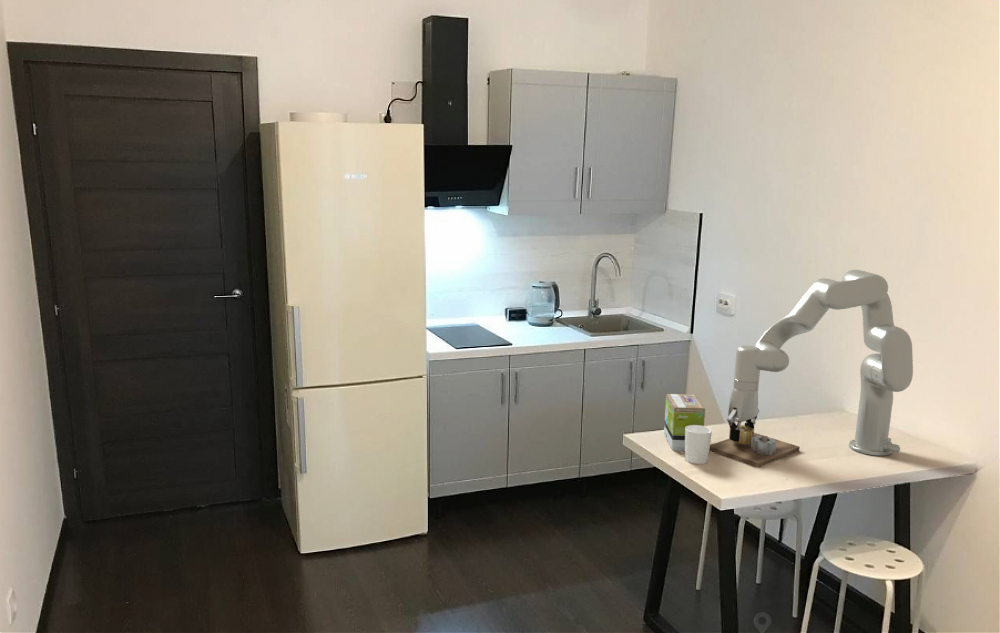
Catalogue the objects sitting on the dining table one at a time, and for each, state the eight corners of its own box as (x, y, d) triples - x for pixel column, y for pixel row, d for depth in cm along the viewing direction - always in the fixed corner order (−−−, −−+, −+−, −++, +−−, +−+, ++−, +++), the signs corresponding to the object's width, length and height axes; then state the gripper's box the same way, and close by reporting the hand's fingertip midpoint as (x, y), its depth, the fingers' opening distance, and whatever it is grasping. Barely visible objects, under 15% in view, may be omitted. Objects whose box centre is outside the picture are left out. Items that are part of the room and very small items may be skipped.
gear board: (799, 451, 242) (801, 431, 241) (757, 467, 227) (759, 447, 226) (749, 435, 255) (751, 417, 254) (707, 450, 240) (708, 430, 239)
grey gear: (777, 450, 238) (778, 438, 237) (773, 457, 231) (774, 445, 230) (752, 445, 241) (754, 433, 240) (748, 452, 235) (749, 440, 234)
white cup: (695, 466, 227) (697, 434, 225) (677, 457, 233) (679, 426, 232) (714, 462, 230) (717, 431, 228) (697, 454, 237) (699, 423, 235)
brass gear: (757, 441, 242) (758, 429, 241) (744, 445, 237) (745, 433, 236) (737, 434, 247) (738, 423, 246) (724, 439, 242) (725, 427, 242)
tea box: (662, 434, 254) (665, 392, 251) (692, 435, 254) (695, 393, 251) (671, 450, 239) (674, 406, 236) (703, 452, 239) (706, 407, 236)
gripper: (751, 378, 247) (746, 429, 250) (719, 386, 236) (715, 440, 239) (771, 383, 241) (766, 436, 244) (740, 392, 230) (736, 447, 233)
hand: (741, 437), depth 242 cm, fingers closed on brass gear, 7 cm apart
